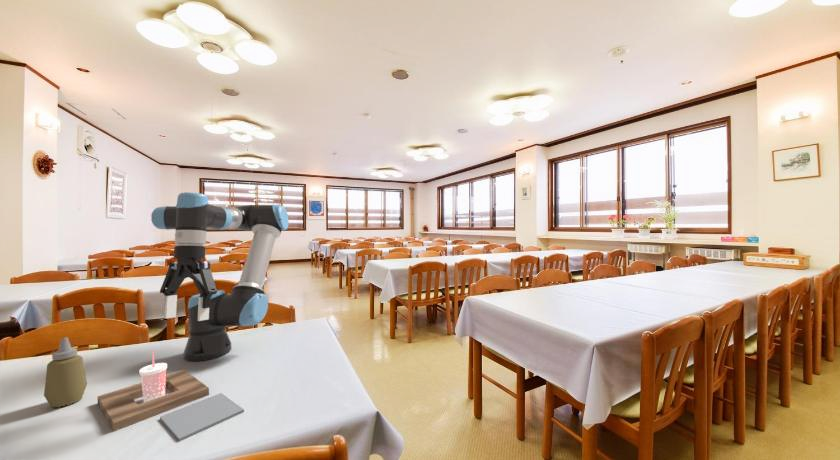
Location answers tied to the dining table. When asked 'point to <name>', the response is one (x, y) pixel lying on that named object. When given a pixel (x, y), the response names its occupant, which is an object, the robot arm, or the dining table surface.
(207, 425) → the rubber mat
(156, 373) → the beverage cup
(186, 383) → the pocket holder
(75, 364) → the squeeze bottle
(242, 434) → the dining table surface
